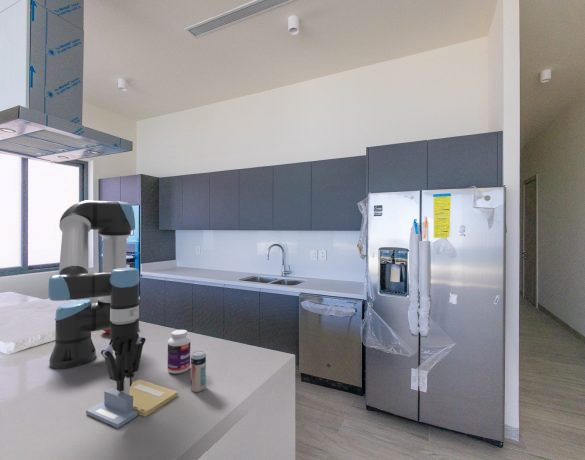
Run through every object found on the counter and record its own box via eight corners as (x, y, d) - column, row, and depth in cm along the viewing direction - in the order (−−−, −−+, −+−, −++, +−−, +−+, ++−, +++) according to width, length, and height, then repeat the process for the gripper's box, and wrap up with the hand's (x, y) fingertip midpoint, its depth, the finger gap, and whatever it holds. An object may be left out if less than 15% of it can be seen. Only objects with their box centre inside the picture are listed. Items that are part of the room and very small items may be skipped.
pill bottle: (182, 376, 108) (182, 336, 108) (162, 373, 110) (163, 334, 110) (194, 366, 116) (194, 329, 116) (175, 364, 118) (176, 327, 118)
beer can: (192, 385, 102) (192, 350, 102) (206, 384, 103) (207, 350, 103) (188, 393, 97) (189, 356, 97) (203, 392, 98) (204, 356, 98)
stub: (86, 413, 86) (86, 396, 86) (106, 402, 91) (106, 386, 91) (117, 428, 80) (117, 409, 80) (137, 415, 85) (137, 398, 85)
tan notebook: (104, 400, 93) (105, 396, 93) (139, 382, 104) (139, 378, 104) (144, 416, 85) (144, 412, 85) (177, 395, 96) (177, 391, 96)
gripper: (111, 329, 81) (111, 415, 81) (152, 316, 93) (151, 391, 93) (94, 324, 84) (93, 408, 85) (135, 313, 96) (135, 386, 96)
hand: (124, 399), depth 89 cm, fingers closed
